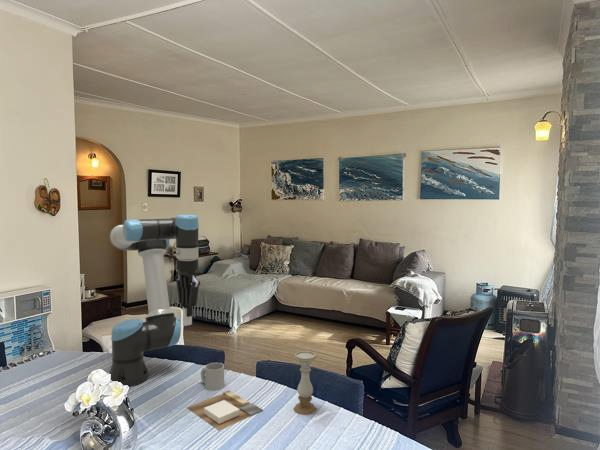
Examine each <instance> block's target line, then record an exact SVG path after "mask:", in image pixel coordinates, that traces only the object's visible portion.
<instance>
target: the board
mask: <svg viewBox="0 0 600 450" xmlns="http://www.w3.org/2000/svg"><path fill="white" fill-rule="evenodd" d="M223 400H225V401H227V402H228V403H230V404H232V405H233V406H235V407H237V408H238V409H240V408H241V407H240V406H238V405H237V404H235V403H233V402H232V401H230V400H228V399H227V398H225V397H223V393H221V394H218V395H216V396H213V397H210V398H207V399H205V400H203V401H200V402H198V403H194V404H192V405H190V406H187V407H186V409H187V410H188V411H191V412H192V413H193V414H194V415H196V416H197V417H198V418H200V419H201V420H202V421H204V422H205V423H207V424H208V425H211V427H213V428H214V429H215V430H217V431H221V430H224V429H226V428H228V427H230V426H232V425H236V424H237V423H240V422H241V421H243V420H246V419H249V418H251V417H252V416H249V415H248V414H246V413H245V412H243V411H241V410H240V415H239V416H236V417H234V418H232V419H229V420H227V421H225V422H223V423H220V424H218V423H217V422H216V421H214V420H213V419H211V418H210V417H208V416H207V415H205V414H204V408H205V407H207V406H210V405H212V404H215V403H217V402H220V401H223ZM248 402H249V404H251V403H252V402H250V401H248ZM264 410H265V409H264ZM264 410H263V411H261V412H259V413H258V414H260V413H262V412H264Z"/></svg>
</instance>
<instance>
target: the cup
mask: <svg viewBox="0 0 600 450" xmlns="http://www.w3.org/2000/svg"><path fill="white" fill-rule="evenodd" d="M200 379H201V382H202V383H203V384H204V386H205V387H204V388H205V389H206V390H208V391H209V390H210V391H216V390H220V389H223V388H224V387H225V364H224V363H223V362H210V363H207V364H206V365H205V366H203V367H202V368H201V370H200Z"/></svg>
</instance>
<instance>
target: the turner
mask: <svg viewBox="0 0 600 450" xmlns="http://www.w3.org/2000/svg"><path fill="white" fill-rule="evenodd" d="M222 394H223V397H225V398H227V399H228V400H230V401H232V402H233V403H235V404H237V405H238V406H240V407H241V408H240V410H241V411H243V412H245V413H246V414H248V415H249V416H251V417H253V416H255V415H257V414H260V413H262V412H264V411H263V408H261V407H260V406H257V405H256V404H254V403H252V402H250V401H249V400H247V399H245V398H243V397H241V396H240V395H238V394H237V393H234V392H233V391H231V390H229V389H228V390H225V391H223V392H222ZM249 402H250V403H251V404H249ZM261 411H262V412H261ZM259 412H260V413H259Z"/></svg>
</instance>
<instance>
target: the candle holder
mask: <svg viewBox="0 0 600 450" xmlns="http://www.w3.org/2000/svg"><path fill="white" fill-rule="evenodd" d="M317 357H318V356H317V353H315V352H313V351H308V350H302V351H297V352H296V353H294V360H296V361H298V362H299V363H300V364H301V365H300V366H301V367H300V368H299V371H300V373H301V375H300V376H301V377H300V381H299V383H298V386H297V389H296V391H297V394H298V397H297V399H298V400H299V402H298V403H296V405H295V406H294V407H293V411H294V413H295V414H297V415H301V416H309V415H313V414H315V413H316V412H317V410H318V409H317V406H316V405H315V404H314V403H312V402H311V401H312V400H313V396H312V395H313V392H314V387H313V384H312V383H311V380H310V379H311V378H310V372H311V371H312V368H310V364H311V363H312V361H315V360H316V359H317Z"/></svg>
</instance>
